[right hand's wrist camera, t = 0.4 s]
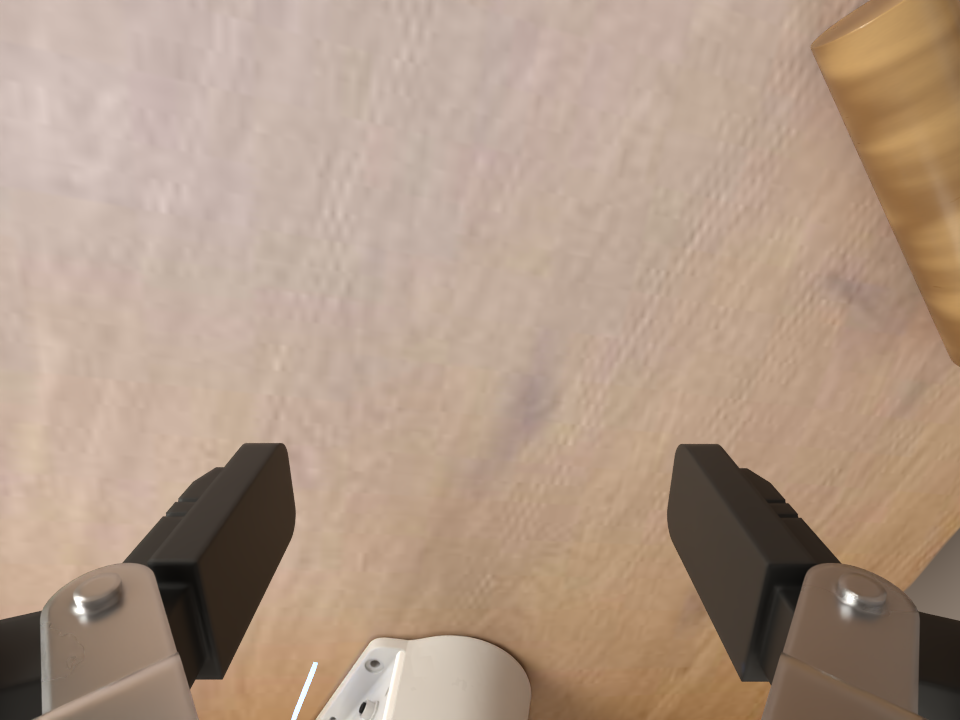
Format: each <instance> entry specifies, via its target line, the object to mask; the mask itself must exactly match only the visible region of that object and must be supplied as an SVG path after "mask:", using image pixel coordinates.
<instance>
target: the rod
mask: <svg viewBox="0 0 960 720" xmlns="http://www.w3.org/2000/svg"><path fill="white" fill-rule="evenodd" d="M811 50H812V52H813V55H814V57H815V59H816V61H817V63H818V66H819V68H820V70H821V72H822V74H823V77H824V79H825V81H826V83H827V86H828V88H829V90H830V92H831V94H832V97H833V99H834V101H835V103H836V106H837V108H838V110H839V112H840V114H841V117H842V119H843V121H844V123H845V126H846V128H847V130H848V132H849V134H850V137H851V139H852V141H853V143H854V145H855V148H856V150H857V152H858V154H859V157H860V159H861V161H862V163H863V165H864V168H865V170H866V172H867V174H868V177H869V179H870V181H871V183H872V185H873V188H874V190H875V192H876V194H877V197H878V199H879V201H880V203H881V205H882V208H883V210H884V212H885V214H886V216H887V219H888V221H889V223H890V225H891V228H892V230H893V232H894V234H895V236H896V239H897V241H898V243H899V245H900V248H901V250H902V252H903V254H904V256H905V259H906V261H907V263H908V265H909V268H910V270H911V272H912V274H913V276H914V279H915V281H916V283H917V285H918V287H919V290H920V292H921V294H922V296H923V299H924V301H925V303H926V305H927V307H928V310H929V312H930V314H931V316H932V319H933V321H934V323H935V325H936V327H937V330H938V332H939V334H940V336H941V339H942V341H943V343H944V345H945V347H946V350H947V352H948V354H949V356H950V358H951V360H952V361H953V362H954V363H955V364H956V365H958V366H959V367H960V1H959V0H870V1H869V2H867V3H865V4H864V5H862V6H861V7H859V8H858V9H856V10H855V11H853V12H851V13H850V14H849V15H847V16H846V17H844V18H843V19H841V20H840V21H838V22H837V23H836V24H834V25H833V26H832V27H830V28H829V29H828V30H826V31H825V32H824V33H823V34H821V35H820V36H819V37H818V38H817V39H816V40H815V41H814V42H813V43H812V45H811Z"/></svg>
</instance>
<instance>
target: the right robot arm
mask: <svg viewBox="0 0 960 720" xmlns="http://www.w3.org/2000/svg"><path fill="white" fill-rule="evenodd" d="M295 517H296V511H295V502H294V494H293V487H292V480H291V473H290V465H289V458H288V452H287V449H286V447H285V445H284V444H282V443H245V444H243V445H242V446H241V447H240V448H239V450H238V451H237V452H236V453H235V455H234V456H233V457H232V458H231V460H230V461H229V462H228V463H227V464H226V466H225V467H216V468H214V469H213V470H211V471H210V472H208V473H206V474H205V475H203V476H202V477H200V478H199V479H197V480H195V481H194V482H193V483H192V484H191V485H190V486H189V487H188V488H187V490H186V491H185V492H184V493H183V494H182V495H181V496H180V498H179V500H178V502H175V503H174V504H173V506H172V507H171V508H170V509H169V510H168V511H167V512H166V517H162V518H161V519H160V520H159V522H158V523H157V524H156V525H155V526H154V527H153V528H152V530H151V531H150V532H149V533H148V534H147V535H146V537H145V538H144V539H143V540H142V541H141V542H140V543H139V545H138V546H137V547H136V548H135V549H134V550H133V551H132V553H131V554H130V555H129V556H128V557H127V558H126V559H125V561H124V562H123V563H120V564H114V565H109V566H105V567H102V568H99V569H96V570H93V571H91V572H88V573H86V574H84V575H82V576H80V577H78V578H76V579H74V580H73V581H71V582H69V583H68V584H66V585H65V586H64V587H62V588H61V589H60V590H58V591H57V592H56V593H55V594H54V595H53V596H52V597H51V598H50V599H49V600H48V602H47V603H46V605H45V606H44V608H43V610H42V611H39V612H34V613H30V614H25V615H21V616H16V617H12V618H7V619H3V620H0V720H199V719H198V716H197V712H196V709H195V705H194V702H193V699H192V695H191V692H190V689H191V687H192V685H193V683H194V681H195V679H223V677H224V675H225V673H226V671H227V669H228V667H229V665H230V663H231V661H232V659H233V657H234V655H235V653H236V651H237V649H238V647H239V645H240V643H241V641H242V639H243V637H244V635H245V632H246V630H247V628H248V626H249V624H250V622H251V620H252V618H253V616H254V614H255V612H256V610H257V608H258V606H259V604H260V602H261V600H262V598H263V596H264V594H265V592H266V590H267V588H268V585H269V583H270V581H271V579H272V577H273V575H274V573H275V571H276V569H277V567H278V565H279V563H280V561H281V559H282V557H283V555H284V553H285V551H286V549H287V547H288V545H289V543H290V540H291V538H292V535H293V531H294V527H295ZM667 521H668V529H669V533H670V537H671V540H672V542H673V544H674V546H675V548H676V550H677V552H678V554H679V556H680V558H681V560H682V562H683V564H684V566H685V568H686V570H687V572H688V574H689V576H690V578H691V580H692V582H693V584H694V586H695V588H696V590H697V592H698V594H699V596H700V598H701V600H702V602H703V604H704V606H705V609H706V611H707V613H708V615H709V617H710V619H711V621H712V623H713V625H714V627H715V629H716V631H717V633H718V635H719V637H720V639H721V641H722V643H723V645H724V647H725V649H726V651H727V653H728V655H729V657H730V659H731V661H732V663H733V665H734V667H735V669H736V671H737V673H738V675H739V677H740V679H741V681H742V682H770V684H771V689H770V692H769V695H768V699H767V702H766V705H765V709H764V712H763V716H762V719H761V720H960V621H958V620H953V619H949V618H944V617H940V616H935V615H931V614H926V613H922V612H919V611H918V610H917V608H916V606H915V605H914V603H913V602H912V600H911V599H910V598H909V597H908V596H907V595H906V594H905V593H904V592H903V591H902V590H900V589H899V588H898V587H896V586H895V585H894V584H892V583H891V582H889V581H887V580H886V579H884V578H882V577H880V576H878V575H876V574H874V573H872V572H869V571H867V570H864V569H861V568H858V567H855V566H851V565H846V564H841V563H840V561H839V560H838V559H837V558H836V557H835V556H834V555H833V554H832V552H831V551H830V550H829V549H828V548H827V547H826V546H825V544H824V543H823V542H822V541H821V540H820V539H819V538H818V536H817V535H816V534H815V533H814V532H813V531H812V530H811V529H810V527H809V526H808V525H807V524H806V523H805V522H804V521H803V519H802V518H798V514H797V513H796V511H795V510H794V509H793V508H792V507H791V506H790V505H789V504H788V503H785V499H784V498H783V497H782V496H781V494H780V493H779V492H778V491H777V490H776V489H775V488H774V486H773V485H772V484H771V483H770V482H768V481H766V480H765V479H763V478H762V477H760V476H758V475H757V474H755V473H754V472H752V471H751V470H749V469H747V468H739V467H738V466H737V465H736V464H735V462H734V461H733V460H732V459H731V458H730V456H729V455H728V454H727V453H726V451H725V450H724V449H723V448H722V447H721V446H720V445H718V444H680V445H679V446H678V448H677V450H676V453H675V459H674V466H673V473H672V480H671V487H670V494H669V501H668V509H667Z"/></svg>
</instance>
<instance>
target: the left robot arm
mask: <svg viewBox="0 0 960 720" xmlns="http://www.w3.org/2000/svg"><path fill="white" fill-rule="evenodd" d="M316 666H317V663H315V662H314V663H313V666H312V668H311V671H310V673H309V676H308V678H307V681H306V683H305V686H304V688H303V691H302V693H301V696H300V698H299V701H298V703H297V706H296V709H295V711H294V714H293V717H292V720H296V717H297V715H298V712H299V710H300V707H301V705H302V702H303V700H304V697H305V695H306V692H307V690H308V687H309V685H310V682H311V680H312V677H313V675H314V672H315V669H316ZM530 702H531V686H530V682H529V679H528V677H527V674H526V673H525V671H524V669H523V668H522V666H521V665H520V664H519V663H518V662H517V661H516V660H515V659H514V658H513V657H512V656H511V655H510V654H508V653H507V652H506V651H504V650H503V649H501V648H499V647H497V646H495V645H493V644H491V643H488V642H486V641H483V640H480V639H476V638H471V637H466V636H457V635H443V636H433V637H427V638H422V639H416V640H404V639H397V638H377V639H374V640H372V641H371V642H370V643H369V645H368V646H367V647H366V649H365V650H364V652H363V653H362V655H361V656H360V657H359V659H358V660H357V662H356V663H355V664H354V666H353V667H352V669H351V670H350V671H349V673H348V674H347V676H346V677H345V679H344V680H343V681H342V683H341V684H340V686H339V687H338V688H337V690H336V691H335V693H334V694H333V696H332V697H331V698H330V700H329V701H328V703H327V704H326V705H325V707H324V708H323V710H322V711H321V712H320V714H319V715H318V717H317V718H316V720H528V715H529V708H530Z"/></svg>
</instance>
